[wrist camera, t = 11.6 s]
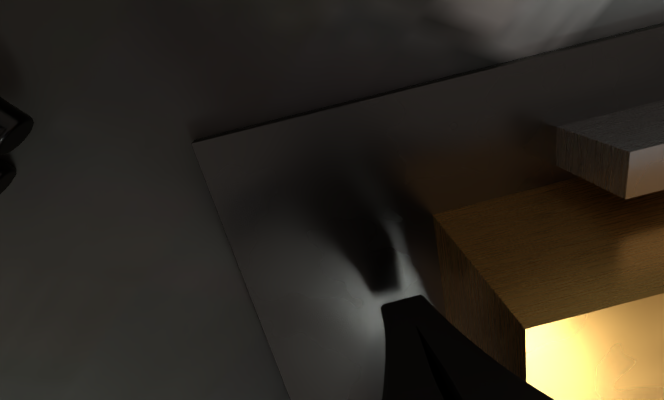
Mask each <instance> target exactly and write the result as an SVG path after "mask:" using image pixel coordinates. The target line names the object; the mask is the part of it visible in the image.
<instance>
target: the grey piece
mask: <svg viewBox="0 0 664 400" xmlns="http://www.w3.org/2000/svg"><path fill="white" fill-rule="evenodd" d="M191 145H192V147H193V150H194V152H195V155H196V158H197V160H198V163H199V165H200V168H201V171H202V173H203V176H204V178H205V181H206V183H207V186H208V189H209V191H210V194H211V196H212V199H213V201H214V204H215V207H216V209H217V212H218V214H219V217H220V220H221V222H222V225H223V227H224V230H225V232H226V235H227V238H228V240H229V243H230V245H231V248H232V250H233V253H234V256H235V258H236V261H237V263H238V266H239V269H240V271H241V274H242V276H243V279H244V281H245V284H246V287H247V289H248V292H249V294H250V297H251V299H252V302H253V305H254V307H255V310H256V312H257V315H258V318H259V320H260V323H261V325H262V328H263V330H264V333H265V336H266V338H267V341H268V343H269V346H270V349H271V351H272V354H273V356H274V359H275V361H276V364H277V367H278V369H279V372H280V374H281V377H282V379H283V382H284V385H285V387H286V390H287V392H288V395H289V398H290V400H382V395H383V385H384V372H385V327H384V322H383V318H382V313H381V309H380V308H381V306H382V305H383V304H385V303H389V302H393V301H397V300H401V299H405V298H409V297H412V296H416V295H420V294H421V295H422V296H424V297H425V298H426V299H427V300H428V301H429V302H430V303H431V304H432V305H433V306H434V308H435V309H436V310H437V311H438V312H439V313H440V314H442V315H443V316H444V317H445V318H446V311H445V303H444V296H443V288H442V281H441V273H440V266H439V259H438V251H437V244H436V236H435V229H434V221H433V214H437V213H441V212H445V211H449V210H453V209H457V208H461V207H464V206H468V205H472V204H476V203H480V202H484V201H488V200H492V199H496V198H499V197H503V196H507V195H511V194H515V193H519V192H523V191H527V190H531V189H534V188H538V187H542V186H546V185H550V184H554V183H558V182H562V181H566V180H569V179H573V178H577V177H581V178H583V179H585V180H587V181H589V182H591V183H593V184H595V185H597V186H599V187H601V188H603V189H605V190H607V191H609V192H611V193H613V194H615V195H617V196H619V197H621V198H623V199H629V198H633V197H637V196H641V195H645V194H649V193H653V192H657V191H661V190H664V23H662V24H658V25H654V26H650V27H646V28H642V29H638V30H634V31H630V32H626V33H622V34H618V35H614V36H610V37H606V38H602V39H598V40H594V41H590V42H586V43H582V44H578V45H574V46H570V47H566V48H562V49H558V50H554V51H550V52H546V53H542V54H538V55H533V56H529V57H525V58H521V59H517V60H513V61H509V62H505V63H501V64H497V65H493V66H489V67H485V68H481V69H477V70H473V71H469V72H465V73H461V74H457V75H453V76H449V77H445V78H441V79H437V80H433V81H429V82H425V83H421V84H417V85H413V86H409V87H405V88H401V89H397V90H393V91H389V92H385V93H381V94H377V95H373V96H369V97H365V98H361V99H357V100H353V101H349V102H345V103H341V104H337V105H333V106H328V107H324V108H320V109H316V110H312V111H308V112H304V113H300V114H296V115H292V116H288V117H284V118H280V119H276V120H272V121H268V122H264V123H260V124H256V125H252V126H248V127H244V128H240V129H236V130H232V131H228V132H224V133H220V134H216V135H212V136H208V137H204V138H200V139H196V140H194V141H193V142H192V143H191ZM446 319H447V318H446Z"/></svg>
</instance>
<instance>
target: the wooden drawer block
mask: <svg viewBox="0 0 664 400" xmlns="http://www.w3.org/2000/svg"><path fill="white" fill-rule="evenodd" d="M433 221H434V229H435V236H436V244H437V251H438V259H439V266H440V273H441V281H442V288H443V296H444V303H445V311H446V318H447V320H448V321H449V322H450V323H451V324H452V325H453V326H454V327H455V328H457V329H458V330H459V331H460V332H461V333H462V334H464V335H465V336H466V337H467V338H468V339H469V340H471V341H472V342H473V343H474V344H475V345H477V346H478V347H479V348H480V349H482V350H483V351H484V352H485V353H487V354H488V355H489V356H491V357H492V358H493V359H494V360H496V361H497V362H498V363H500V364H501V365H503V366H504V367H505V368H507V369H508V370H510V371H511V372H512V373H514V374H515V375H517V376H518V377H520V378H521V379H523V380H524V381H526V382H527V383H529V384H530V385H532V386H533V387H535V388H537V389H538V390H540V391H541V392H543V393H545V394H546V395H548V396H549V397H551V398H553V399H554V400H664V190H661V191H657V192H653V193H649V194H645V195H641V196H637V197H633V198H629V199H623V198H621V197H619V196H617V195H615V194H613V193H611V192H609V191H607V190H605V189H603V188H601V187H599V186H597V185H595V184H593V183H591V182H589V181H587V180H585V179H583V178H581V177H577V178H573V179H569V180H566V181H562V182H558V183H554V184H550V185H546V186H542V187H538V188H534V189H531V190H527V191H523V192H519V193H515V194H511V195H507V196H503V197H499V198H496V199H492V200H488V201H484V202H480V203H476V204H472V205H468V206H464V207H461V208H457V209H453V210H449V211H445V212H441V213H437V214H433Z"/></svg>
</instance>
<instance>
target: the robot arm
mask: <svg viewBox="0 0 664 400" xmlns="http://www.w3.org/2000/svg"><path fill="white" fill-rule="evenodd" d="M380 309H381V313H382V318H383V322H384V327H385V372H384V385H383V395H382V400H554V399H553V398H551V397H549V396H548V395H546V394H545V393H543V392H541V391H540V390H538V389H537V388H535V387H533V386H532V385H530V384H529V383H527V382H526V381H524V380H523V379H521V378H520V377H518V376H517V375H515V374H514V373H512V372H511V371H510V370H508V369H507V368H505V367H504V366H503V365H501V364H500V363H498V362H497V361H496V360H494V359H493V358H492V357H491V356H489V355H488V354H487V353H485V352H484V351H483V350H482V349H480V348H479V347H478V346H477V345H475V344H474V343H473V342H472V341H471V340H469V339H468V338H467V337H466V336H465V335H464V334H462V333H461V332H460V331H459V330H458V329H457V328H455V327H454V326H453V325H452V324H451V323H450V322H449V321H448V320H447V319H446V318H445V317H444V316H443V315H442V314H440V313H439V312H438V311H437V310H436V309H435V308H434V306H433V305H432V304H431V303H430V302H429V301H428V300H427V299H426V298H425V297H424V296H422V295H421V294H420V295H416V296H412V297H409V298H405V299H401V300H397V301H393V302H389V303H385V304H383V305H382V306H381V308H380Z"/></svg>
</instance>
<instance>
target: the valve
mask: <svg viewBox="0 0 664 400" xmlns="http://www.w3.org/2000/svg"><path fill="white" fill-rule="evenodd" d="M33 124H34V121H33V118H32V117H31V116H29V115H28V114H26V113H24V112H23V111H21V110H20V109H18V108H17V107H15V106H14V105H12V104H10V103H9V102H7V101H6V100H4V99H3V98H1V97H0V155H4V154H7V153H9V152H11V151H12V150H14V149H15V148H16V147H17V146H19V145H20V144H21V143H22V142H23V141H24V140H25V138H26V137H27V136H28V134H29V133H30V131H31V130H32V127H33ZM15 175H16V168H15V167H13V166H11V165H10V164H8V163H6V162H5V161H3V160H1V159H0V194H1V193H2V192H3V191H4V190H5V189H6V188H7V187H8V186H9V185H10V183H11V182H12V180H13V179H14V177H15Z"/></svg>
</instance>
